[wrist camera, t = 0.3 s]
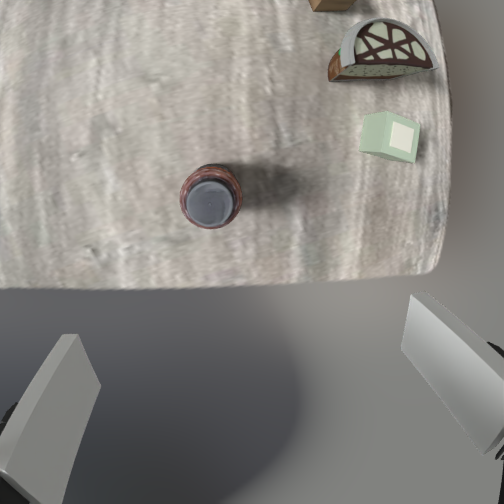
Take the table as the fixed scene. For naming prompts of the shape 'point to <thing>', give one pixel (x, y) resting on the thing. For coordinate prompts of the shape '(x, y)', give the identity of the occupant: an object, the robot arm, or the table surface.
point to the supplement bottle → (211, 197)
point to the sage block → (390, 137)
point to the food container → (381, 52)
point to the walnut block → (330, 5)
